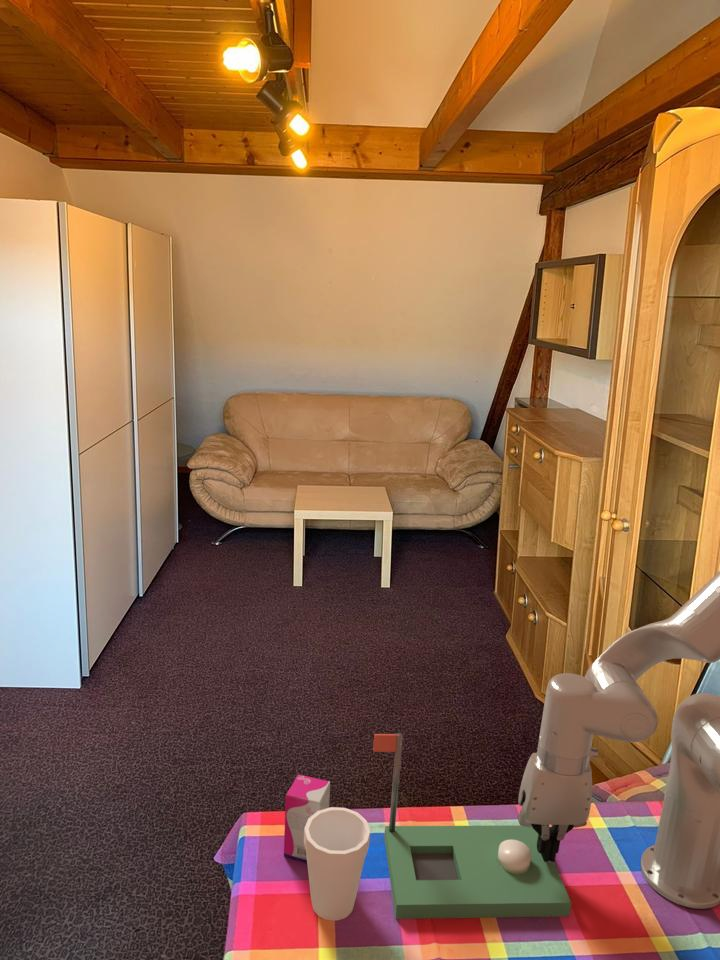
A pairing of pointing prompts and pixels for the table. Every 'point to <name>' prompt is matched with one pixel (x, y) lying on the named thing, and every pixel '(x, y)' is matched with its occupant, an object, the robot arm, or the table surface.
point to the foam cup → (335, 859)
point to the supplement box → (302, 812)
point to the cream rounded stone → (514, 856)
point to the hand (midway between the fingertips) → (546, 855)
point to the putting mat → (463, 867)
